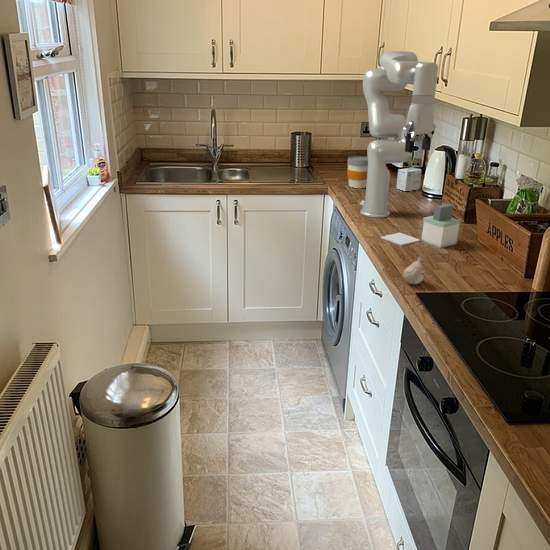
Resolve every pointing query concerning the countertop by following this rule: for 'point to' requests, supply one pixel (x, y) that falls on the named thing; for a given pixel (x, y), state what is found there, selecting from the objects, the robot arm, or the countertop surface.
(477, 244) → the countertop surface
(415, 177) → the light bulb box
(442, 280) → the countertop surface
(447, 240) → the tub
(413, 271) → the garlic bulb
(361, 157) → the reusable coffee cup
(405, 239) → the mat
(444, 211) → the lid
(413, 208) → the countertop surface
